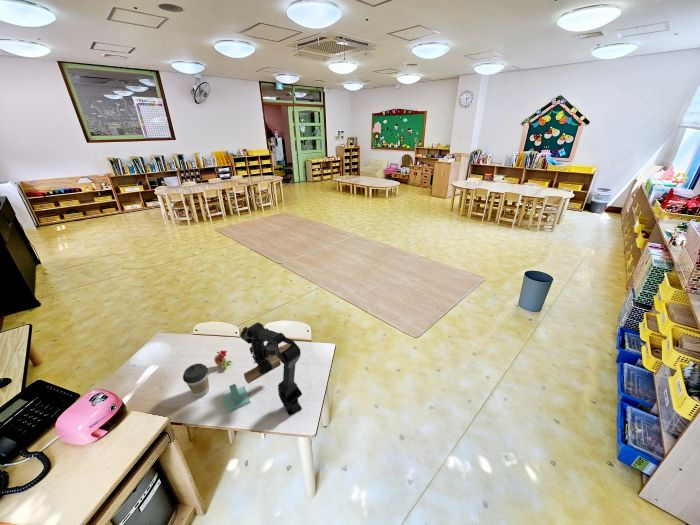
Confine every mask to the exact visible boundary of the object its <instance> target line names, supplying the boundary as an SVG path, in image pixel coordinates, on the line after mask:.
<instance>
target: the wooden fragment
mask: <svg viewBox="0 0 700 525" xmlns="http://www.w3.org/2000/svg"><path fill="white" fill-rule="evenodd" d="M290 346H291V345H289V344H287V343H285V344H284V345H282V346H278V347H279V351H280V353H281V352H283V351H284V350H286V349H287V348H288V347H290ZM275 356H277V355H270V356H269V355H268V358H265V359H267V360H270V359H272V358H273V357H275ZM253 364H257V363H256V362H255V360H253Z"/></svg>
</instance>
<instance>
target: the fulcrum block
mask: <svg viewBox="0 0 700 525" xmlns="http://www.w3.org/2000/svg"><path fill="white" fill-rule="evenodd" d="M237 387H238V386H237V384H236V383H233V384H231V385H228V388H229V391H230V392H227V393H226V394H223V395H222V400H223V403H224V406H225V410H226V414H229V413H231V412H233V411H235V410H238V409H241V408H242V407H244V406H246V405H248V404H250V403H251V399H250V396H249V395H248V392H247V389H246V388H247V387H246V386H245V385H243V386H240V387H239V388H237Z"/></svg>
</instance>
